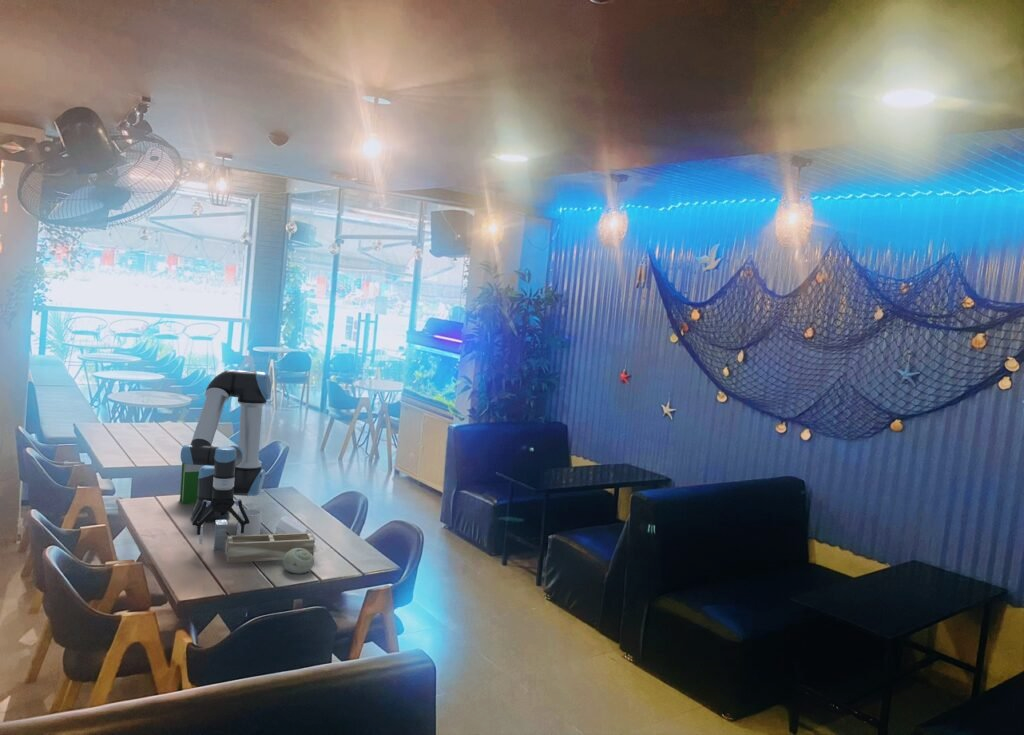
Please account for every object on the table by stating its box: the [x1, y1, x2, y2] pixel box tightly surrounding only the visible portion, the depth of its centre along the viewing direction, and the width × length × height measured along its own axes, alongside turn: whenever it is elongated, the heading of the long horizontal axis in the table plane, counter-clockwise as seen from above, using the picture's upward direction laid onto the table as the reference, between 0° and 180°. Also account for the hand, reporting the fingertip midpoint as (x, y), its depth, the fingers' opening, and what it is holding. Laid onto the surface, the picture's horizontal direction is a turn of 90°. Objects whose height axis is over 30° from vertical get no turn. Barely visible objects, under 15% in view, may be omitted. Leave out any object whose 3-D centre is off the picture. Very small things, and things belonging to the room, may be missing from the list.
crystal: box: [275, 515, 316, 544], centre depth 297 cm, size 7×7×24 cm
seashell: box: [282, 548, 315, 574], centre depth 265 cm, size 13×8×10 cm
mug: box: [236, 508, 262, 535], centre depth 292 cm, size 12×9×11 cm
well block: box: [226, 531, 315, 564], centre depth 275 cm, size 10×30×7 cm, turn 114°
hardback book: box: [179, 462, 205, 505], centre depth 335 cm, size 18×7×24 cm, turn 124°
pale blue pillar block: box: [213, 519, 228, 552], centre depth 276 cm, size 6×4×11 cm, turn 24°
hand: (219, 542), depth 277 cm, fingers open, 13 cm apart
